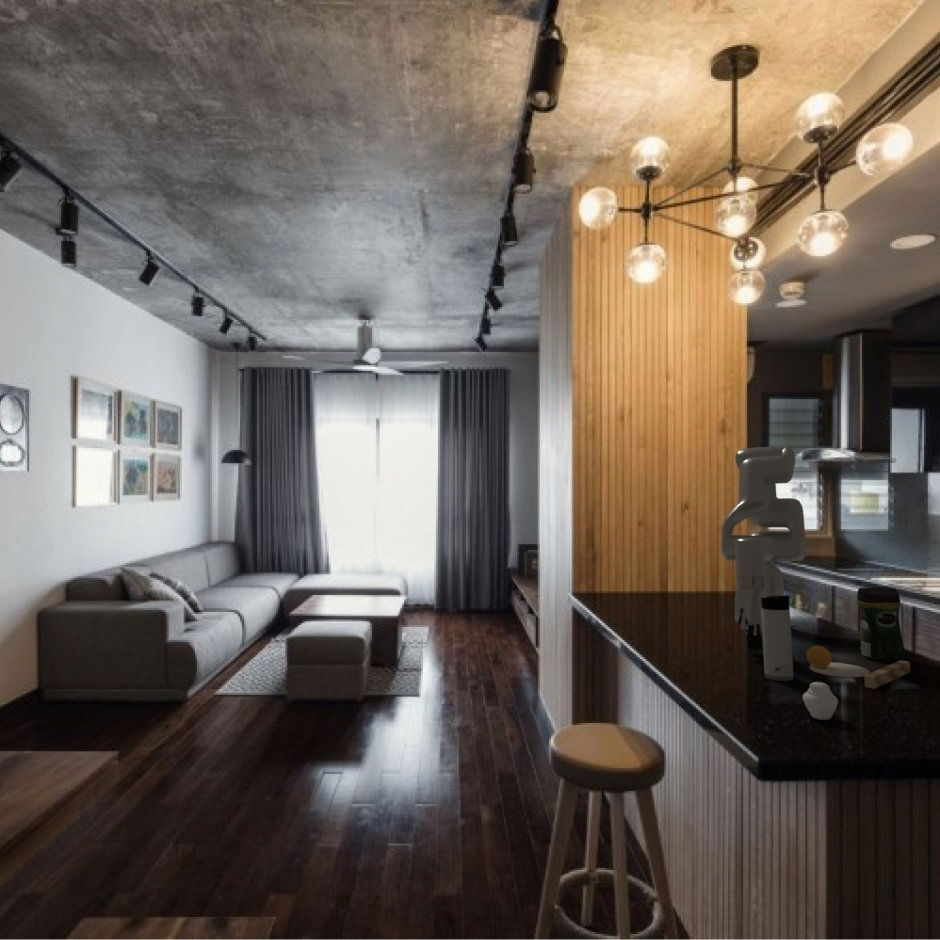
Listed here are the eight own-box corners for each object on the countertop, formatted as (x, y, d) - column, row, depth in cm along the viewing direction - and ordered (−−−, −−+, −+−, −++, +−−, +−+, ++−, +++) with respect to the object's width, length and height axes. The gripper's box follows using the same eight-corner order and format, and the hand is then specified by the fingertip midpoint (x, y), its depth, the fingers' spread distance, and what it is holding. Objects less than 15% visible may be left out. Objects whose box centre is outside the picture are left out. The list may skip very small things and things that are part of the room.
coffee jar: (893, 654, 171) (889, 584, 172) (910, 661, 164) (905, 589, 164) (855, 654, 173) (851, 585, 173) (870, 661, 165) (865, 589, 166)
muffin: (811, 710, 130) (809, 675, 130) (843, 717, 125) (841, 681, 126) (798, 717, 126) (796, 681, 126) (832, 725, 121) (829, 688, 122)
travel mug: (783, 683, 148) (778, 597, 149) (759, 676, 154) (754, 594, 155) (800, 679, 151) (796, 594, 152) (776, 672, 157) (771, 591, 158)
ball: (809, 648, 165) (826, 640, 161) (822, 668, 163) (840, 660, 159) (798, 653, 162) (815, 645, 158) (810, 673, 160) (829, 666, 156)
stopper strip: (901, 670, 156) (900, 660, 156) (910, 672, 154) (909, 661, 154) (864, 686, 144) (864, 675, 144) (874, 688, 142) (873, 677, 142)
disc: (824, 660, 167) (824, 659, 167) (879, 670, 156) (879, 669, 156) (799, 669, 159) (799, 668, 159) (855, 680, 149) (855, 679, 149)
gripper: (753, 578, 184) (756, 642, 183) (723, 583, 175) (726, 651, 174) (778, 580, 178) (782, 646, 177) (749, 586, 169) (752, 656, 168)
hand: (754, 648), depth 176 cm, fingers closed
